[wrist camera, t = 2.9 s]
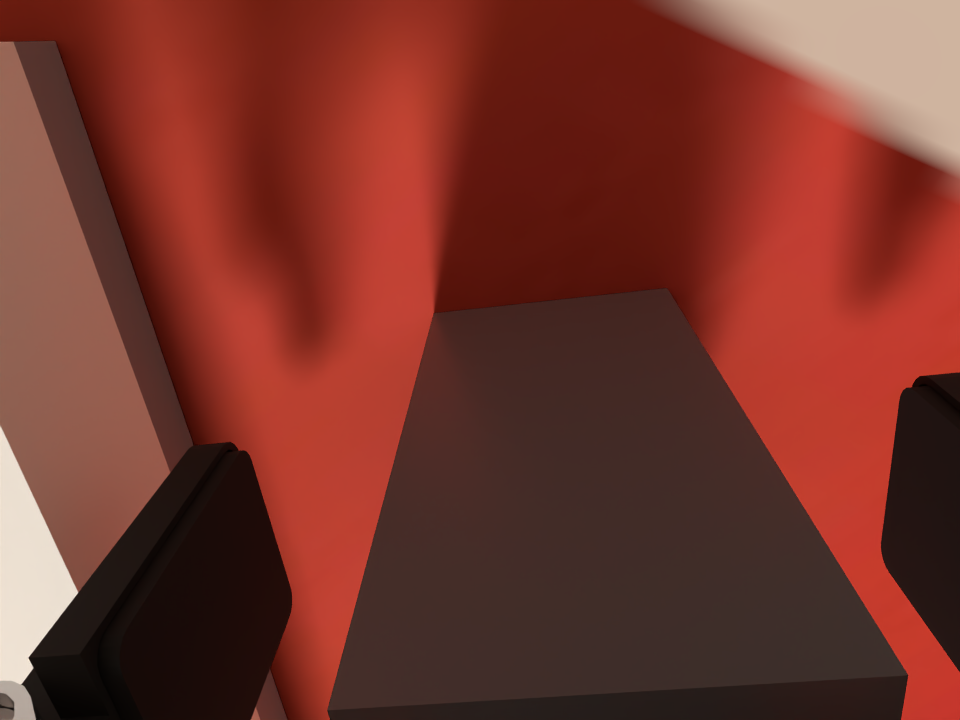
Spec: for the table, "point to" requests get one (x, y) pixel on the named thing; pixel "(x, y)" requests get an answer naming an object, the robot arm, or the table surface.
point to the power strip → (69, 365)
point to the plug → (597, 540)
